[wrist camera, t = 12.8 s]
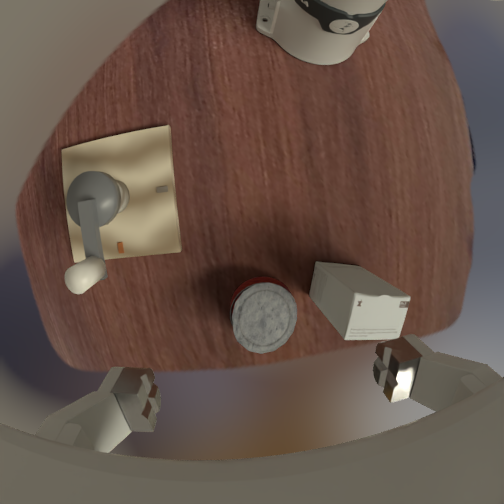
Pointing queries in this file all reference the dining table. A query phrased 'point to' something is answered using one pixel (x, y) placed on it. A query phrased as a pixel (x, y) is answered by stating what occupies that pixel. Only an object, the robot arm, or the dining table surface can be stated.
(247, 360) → the dining table surface
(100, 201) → the white knob lever
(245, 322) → the canned food
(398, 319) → the skincare box
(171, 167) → the mount board
